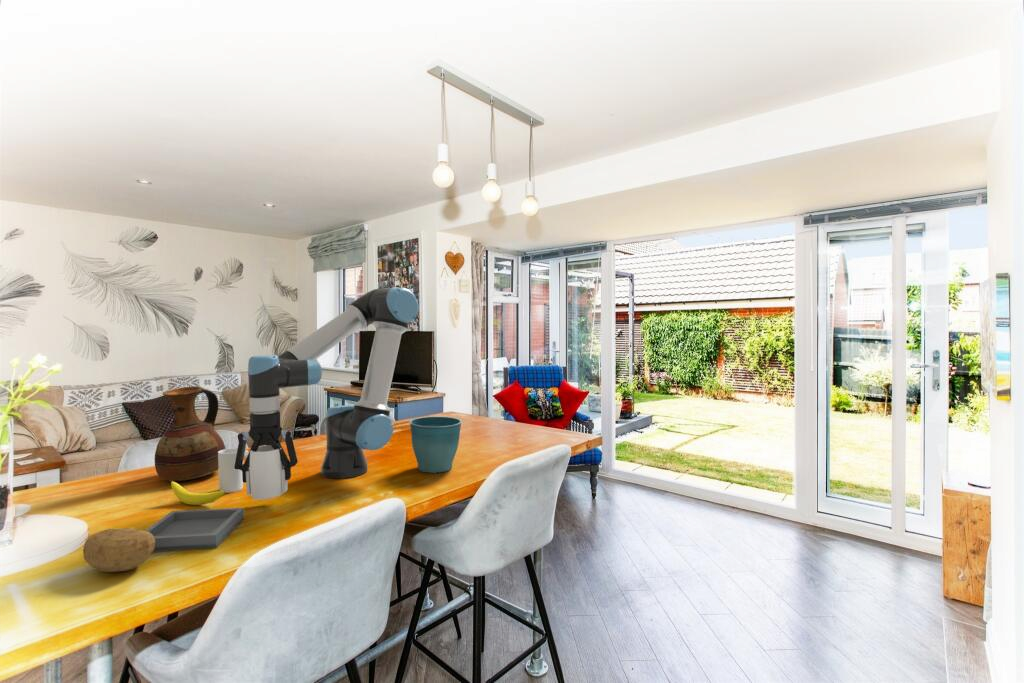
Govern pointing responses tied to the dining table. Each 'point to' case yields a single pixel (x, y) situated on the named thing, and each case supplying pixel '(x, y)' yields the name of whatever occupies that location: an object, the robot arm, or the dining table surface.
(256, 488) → the cup
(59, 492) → the dining table surface
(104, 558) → the potato
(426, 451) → the flower pot
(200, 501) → the banana
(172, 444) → the ceramic pitcher
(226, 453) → the mug
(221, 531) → the tray
